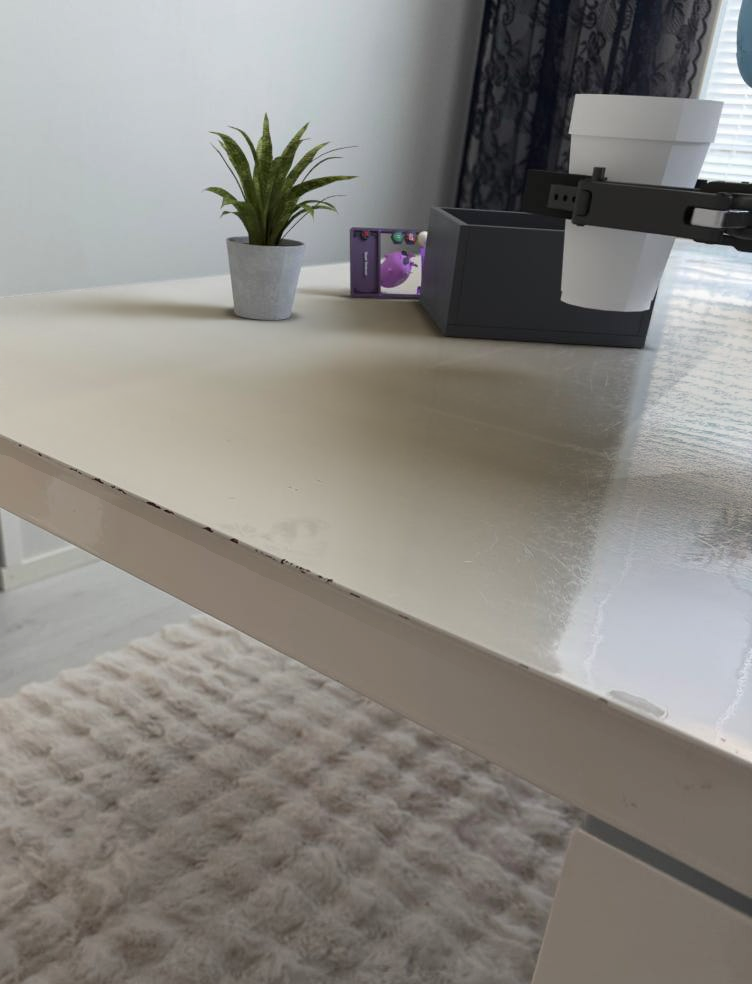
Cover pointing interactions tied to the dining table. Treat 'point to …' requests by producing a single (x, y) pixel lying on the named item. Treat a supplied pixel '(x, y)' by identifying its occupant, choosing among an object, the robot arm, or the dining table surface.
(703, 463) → the dining table surface
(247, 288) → the house plant
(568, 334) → the dark grey open box
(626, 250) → the white flower pot
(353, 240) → the purple cardboard box
